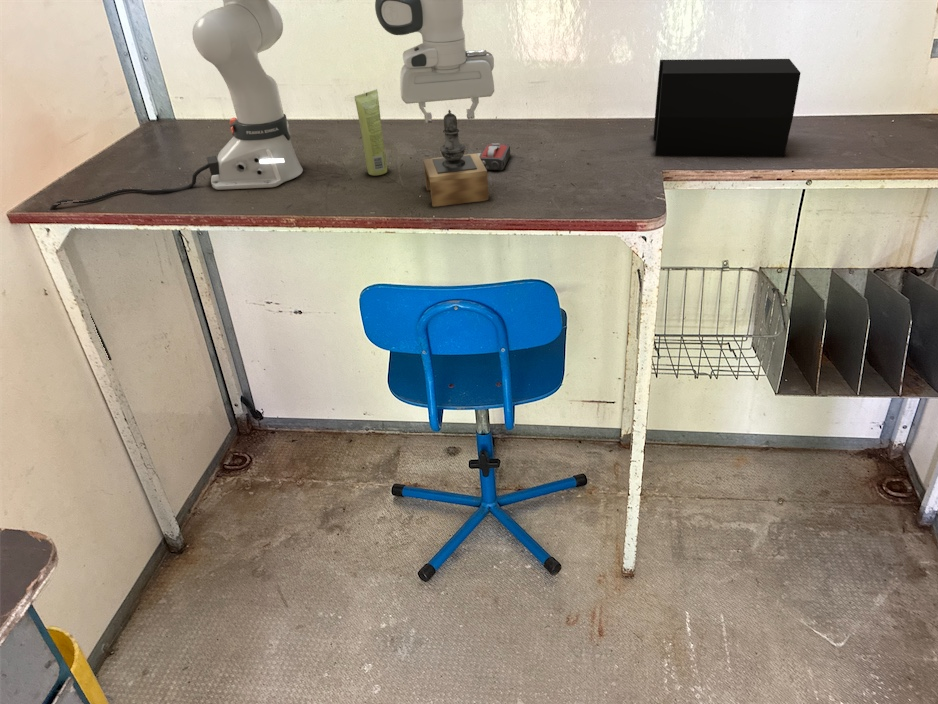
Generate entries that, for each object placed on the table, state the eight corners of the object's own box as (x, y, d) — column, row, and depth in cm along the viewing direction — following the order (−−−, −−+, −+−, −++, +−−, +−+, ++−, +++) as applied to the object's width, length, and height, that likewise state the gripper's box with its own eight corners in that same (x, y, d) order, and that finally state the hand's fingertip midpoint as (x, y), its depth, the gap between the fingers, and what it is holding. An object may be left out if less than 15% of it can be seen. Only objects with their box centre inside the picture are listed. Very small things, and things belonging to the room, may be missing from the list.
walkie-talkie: (479, 153, 189) (462, 181, 173) (478, 136, 186) (461, 163, 171) (512, 154, 188) (498, 182, 172) (511, 137, 185) (497, 164, 169)
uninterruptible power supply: (653, 136, 195) (659, 58, 183) (779, 137, 191) (795, 57, 179) (655, 157, 182) (662, 74, 170) (791, 158, 178) (808, 74, 166)
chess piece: (463, 168, 160) (458, 114, 153) (438, 167, 161) (432, 113, 154) (469, 159, 165) (465, 106, 157) (445, 158, 166) (440, 105, 158)
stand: (432, 207, 161) (429, 175, 157) (426, 187, 171) (422, 157, 166) (488, 200, 163) (486, 169, 159) (479, 181, 173) (477, 151, 168)
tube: (368, 169, 182) (356, 89, 171) (388, 167, 183) (377, 88, 171) (367, 177, 178) (354, 96, 166) (387, 175, 178) (376, 94, 166)
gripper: (490, 45, 153) (492, 111, 161) (395, 53, 149) (402, 120, 158) (496, 52, 148) (498, 120, 156) (398, 60, 144) (405, 128, 153)
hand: (449, 120), depth 157 cm, fingers open, 8 cm apart
